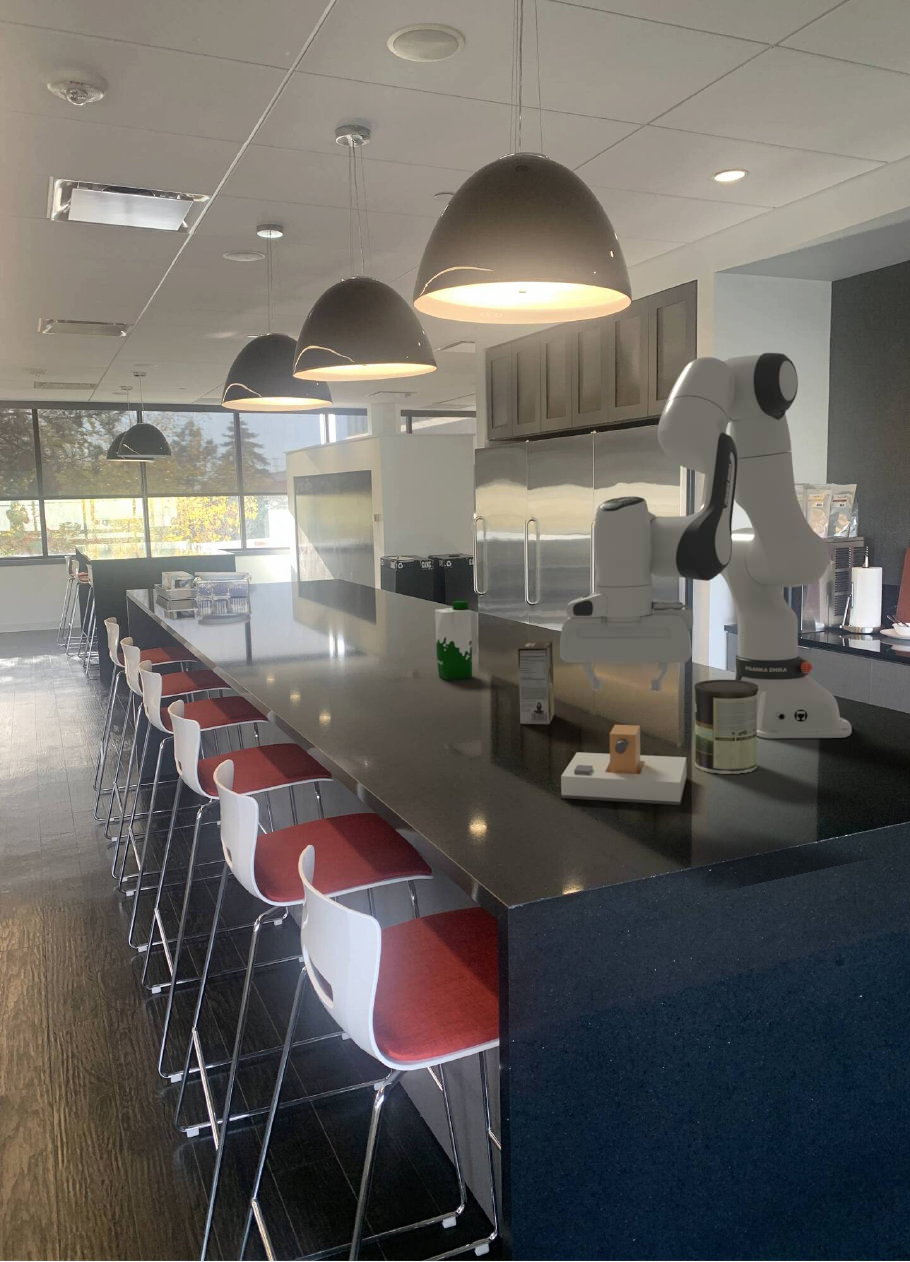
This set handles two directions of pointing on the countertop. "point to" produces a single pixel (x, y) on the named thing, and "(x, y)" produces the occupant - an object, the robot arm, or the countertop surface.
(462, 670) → the milk carton
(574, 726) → the countertop surface
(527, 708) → the coffee box
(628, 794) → the socket
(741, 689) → the coffee can
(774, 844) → the countertop surface
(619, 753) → the plug
